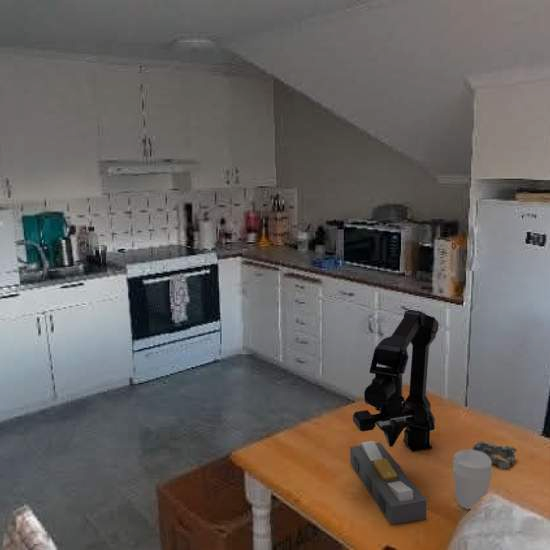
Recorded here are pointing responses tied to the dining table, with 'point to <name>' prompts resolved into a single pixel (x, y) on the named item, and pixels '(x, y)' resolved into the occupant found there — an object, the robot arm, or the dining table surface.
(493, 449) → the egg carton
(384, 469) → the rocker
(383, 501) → the rocker switch panel
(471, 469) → the cup
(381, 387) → the robot arm
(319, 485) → the dining table surface
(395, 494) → the rocker
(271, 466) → the dining table surface
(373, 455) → the rocker
